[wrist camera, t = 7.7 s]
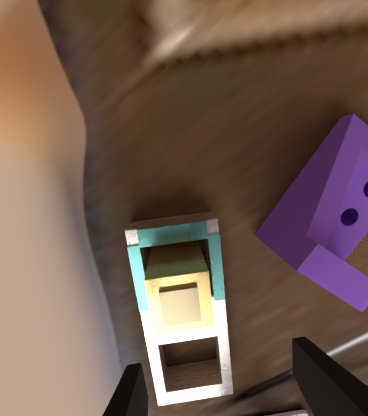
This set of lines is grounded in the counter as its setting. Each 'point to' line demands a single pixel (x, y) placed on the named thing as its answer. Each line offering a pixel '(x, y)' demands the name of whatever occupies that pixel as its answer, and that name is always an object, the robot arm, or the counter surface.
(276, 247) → the bracket
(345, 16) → the counter surface
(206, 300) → the beige hollow block
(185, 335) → the white compartment tray
